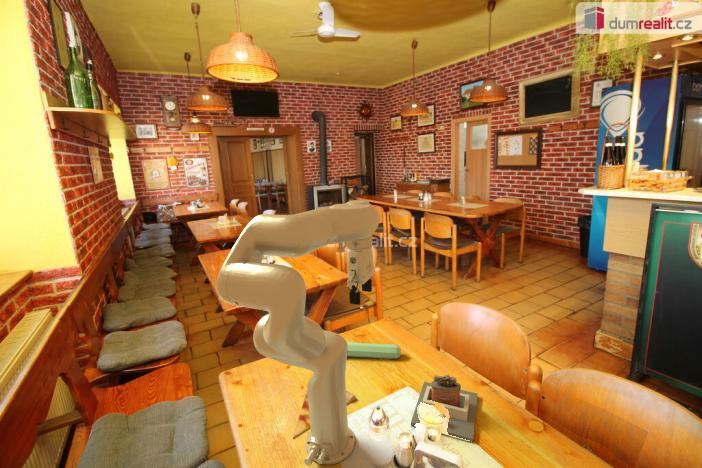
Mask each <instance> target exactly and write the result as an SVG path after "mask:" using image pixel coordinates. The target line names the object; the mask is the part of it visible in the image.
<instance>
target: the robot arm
mask: <svg viewBox="0 0 702 468" xmlns="http://www.w3.org/2000/svg"><path fill="white" fill-rule="evenodd" d="M379 222H380V215H379V211H378V209H377V208H376V206H374V205H373V204H371V203H370V202H369V201H368V200H366V199H365V200H364V199H353V200H349V201H347V202H346V203H336V204H333V205H331V206H329V207H326V208H325V207H322V208H315V209H312V210H311V209H310V210H307V211H304V212H299V213H294V214H269V213H268V214H267V213H266V214H265V213H264V214H263V213H262V214H258V215H256V216H255V217H253V218H252V219H251V220H250V221H249V222H248V223H247V224H246V226H245V228H243V230H242V232H241V233H240V234H239V237H238V238H237V240H236V242H235V243H234V245H233V246H232V248H231V250H230V252H229V253H228V254H227V257H226V259H225V260H224V262H223V264H222V266H221V268H220V270H219V272H218V275H217V279H216V291H217V294H218V296H219V298H220V299H221V300H222V301H223V302H225V303H226V304H229V305H231V306H237V307H243V308H249V309H254V310H258V311H259V310H260V311H265V312H268V313H266V314H264V315H262V316H261V318H260V319H259V321H257V323H256V325H255V327H254V329H253V337H252V339H253V344H254V347H255V349H256V351H257V352H258V353H259V354H260V355H262V356H263V357H266V358H268V359H271V360H274V361H277V362H279V363H282V364H284V365H288V366H293V367H296V368H301V369H305V370H308V371H311V372H313V374H312V376H311V377H310V378H309V380H308V383H307V389H306V393H308V403H309V415H310V427H311V428H310V432H309V433H308V435H307V437H306V439H305V440H306V441H305V449H306V453H307V455H306V457H305V458H304V460H303V462H304V464H305V465H306V466H308V467H311V466H312V464H313V462H317V464H319V465H334V464H338V463H341V462H342V461H344V460H346V459H347V458H349V456H350V455H351V454H352V452H353V451H354V449H355V435H354V432H353V431H352V429H351V428H350V427H349V423H348V422H349V421H348V407H347V406H348V404H347V401H346V391H347V387H346V386H347V385H346V368H347V359H348V356H347V353H348V346H347V340H346V339H345V338H344V336H342V335H340V334H339V333H336V332H333V331H330V330H326V329H325V330H324V329H323V328H322V327H321V326H320V325H319V324H318V322H315V321H314V320H312V319H311V318H310V317H307V316H306V315H305V310H306V309H305V308H306V300H307V287H306V282H305V279H304V278H303V276H302V275H301V273H299V271H297V269H294V268H292V267H290V266H287V265H283V264H280V263H279V264H277V263H269V262H263V260H264V257H265V256H272V257H282V258H283V257H284V258H299V257H300V258H301V257H303V256H306V255H308V254H310V253H312V252H315V251H316V250H319V249H321V248H323V247H326V246H328V245H334V244H335V245H336V244H342V243H345V245H346V250H347V280H346V284H347V290H348V294H349V304H351V305H355V306H356V305H358V306H360V305H361V303H362V301H361V291H362V292H368V293H371V292H373V282H372V279H373V276H374V274H375V268H374V255H373V240H372V239H373V238H372V237H373V234H374V233H375V232H376V231H377V229H378V226H379ZM360 286H361V290H360Z"/></svg>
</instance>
